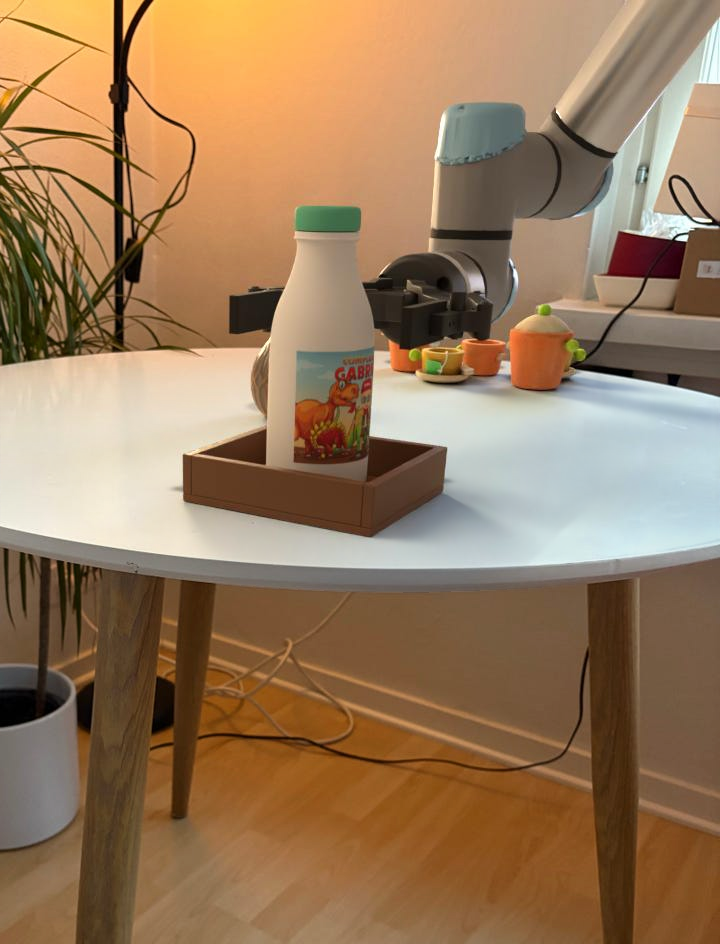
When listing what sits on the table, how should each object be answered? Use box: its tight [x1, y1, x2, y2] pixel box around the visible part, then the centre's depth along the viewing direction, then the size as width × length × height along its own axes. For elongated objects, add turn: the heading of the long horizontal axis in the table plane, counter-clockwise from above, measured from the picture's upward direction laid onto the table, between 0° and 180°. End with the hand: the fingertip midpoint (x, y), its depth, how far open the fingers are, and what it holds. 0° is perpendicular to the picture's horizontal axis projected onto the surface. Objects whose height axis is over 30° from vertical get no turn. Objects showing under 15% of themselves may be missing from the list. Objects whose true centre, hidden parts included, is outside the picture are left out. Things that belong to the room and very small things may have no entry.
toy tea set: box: [381, 303, 587, 391], centre depth 125 cm, size 26×16×10 cm, turn 74°
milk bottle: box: [266, 205, 376, 482], centre depth 72 cm, size 8×8×20 cm
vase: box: [250, 337, 270, 418], centre depth 102 cm, size 7×7×9 cm
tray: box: [182, 424, 448, 538], centre depth 75 cm, size 16×14×4 cm
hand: (315, 321), depth 69 cm, fingers open, 13 cm apart
